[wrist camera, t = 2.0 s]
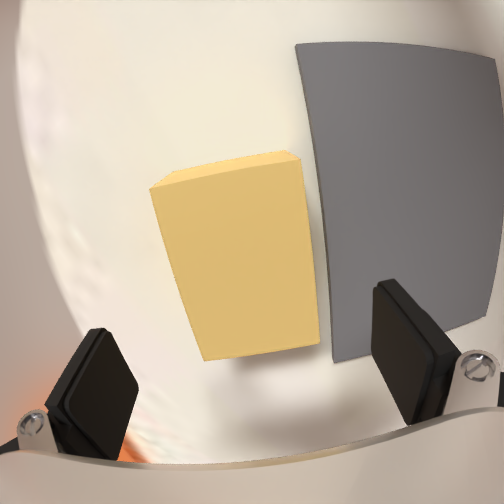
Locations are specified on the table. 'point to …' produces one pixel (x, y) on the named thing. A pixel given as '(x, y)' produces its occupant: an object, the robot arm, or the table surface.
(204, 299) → the box
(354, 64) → the mat
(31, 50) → the table surface
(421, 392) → the robot arm
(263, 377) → the table surface
